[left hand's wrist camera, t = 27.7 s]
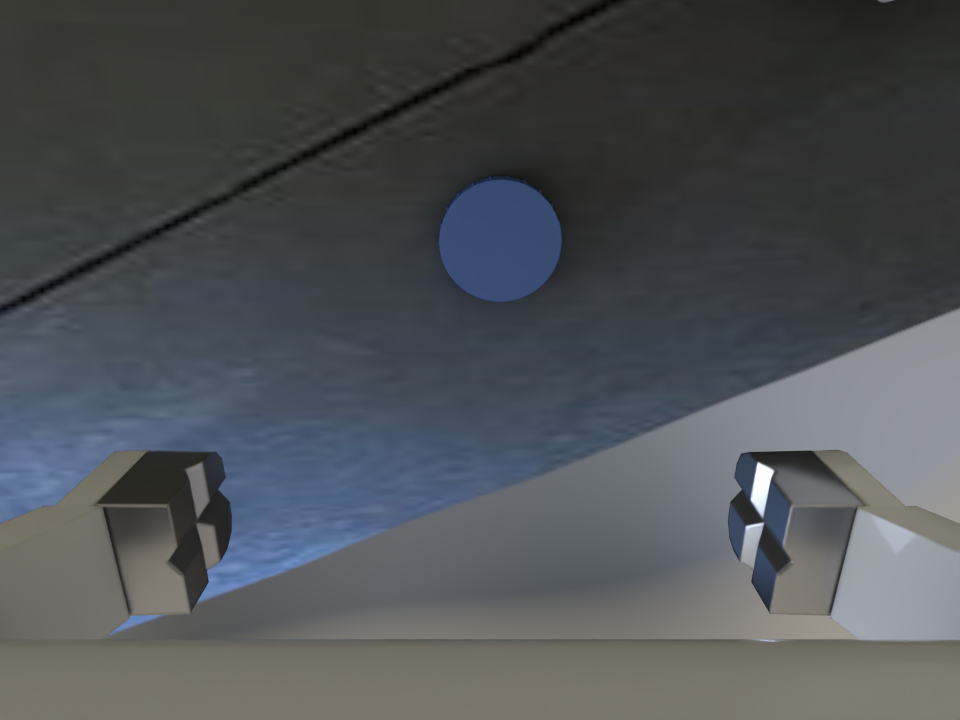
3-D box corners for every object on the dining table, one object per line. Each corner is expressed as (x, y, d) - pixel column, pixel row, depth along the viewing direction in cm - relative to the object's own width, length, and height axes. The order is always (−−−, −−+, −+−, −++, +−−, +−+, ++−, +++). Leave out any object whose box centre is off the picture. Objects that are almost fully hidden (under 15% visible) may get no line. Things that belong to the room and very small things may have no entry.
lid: (416, 244, 33) (412, 252, 31) (492, 148, 31) (492, 149, 29) (507, 316, 34) (508, 327, 32) (584, 226, 33) (589, 233, 31)
